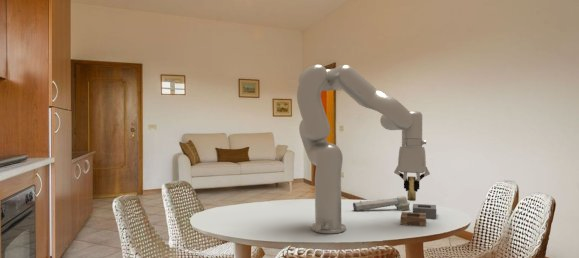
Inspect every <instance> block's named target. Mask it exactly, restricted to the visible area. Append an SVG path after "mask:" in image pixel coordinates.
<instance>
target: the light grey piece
mask: <svg viewBox="0 0 579 258" xmlns="http://www.w3.org/2000/svg"><path fill="white" fill-rule="evenodd" d="M407 199H408V197H406V196H403V195H401V196H397V197H395V198H386V199H385V198H384V199H375V200H365V201H364V200H363V201H362V200H360V201H357V202H353V203H352V206H353V210H354V212H361V211H362V212H364V211H368V210H374V209H379V208H387V207H391V206H392V207H393V206H395V207H396V210H397V211H400V210H401V211H402V212H407V210H410V202H409V201H408V200H407Z"/></svg>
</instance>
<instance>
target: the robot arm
mask: <svg viewBox="0 0 579 258" xmlns="http://www.w3.org/2000/svg"><path fill="white" fill-rule="evenodd" d="M338 90H342V91H343V92H344V93H346V94H347V95H348V96H349V97H350V98H351V99H353V100H354V101H355V102H356V103H357V104H358V105H359V106H361V107H364V108H365V109H369V110H373V111H376V112H378V113H380V114H381V117H380V120H379V121H380V125H381V126H382V127H383V129H385V130H387V131H401V146H399V150H398V158H397V160H398V161H397V166H396V167H395V169H394V171H393V172H394V174H395V175H398V176H399V177H400V178H401V179H402V180H403V189H404V190H405V192H408V173H409V174H411V173H413V174H415V177H416V182H415V191H416V193H417V192H418V190H420V181H421V180H423V178H425V177H427V176H429V175H430V171H429V169H428V167H427V164H426V163H427V162H426V150H425V147H424V146H423V145H427V140H424V139H423V114H422V112H421V111H415V110H413V111H409V110H408V109H407V107H405V106H404V105H403V104H402V103H401V102H400V101H398V100H397V99H396V98H394V97H393V96H391V95H390V94H387V93H386V92H384V91H382V90H380V89H378V88H377V87H375V86H374V85H372V83H371V82H369V81H368V80H367V79H366V78H365V77H364V76H362V75H361V73H360V72H358V71H357V70H356V69H355V68H354V67H352V66H351V65H349V64H342V65H338V66H336V67H334V68H326V66H323V65H321V64H318V63H317V64H312V65H310V66H309V67H307V68H305V70H303V71H302V72H301V73H300V74H299V76H298V86H297V91H296V100H297V105H298V109H299V112H300V115H301V121H300V122H299V125H298V126H299V127H298V131H299V134H300V135H299V136H300V138H301V142H302V145H303V147H304V150H305V153H306V155H307V157H308V160H309V162H310V163H312V165H314V166H315V172H314V173H315V174H314V209H315V211H314V212H315V213H314V215H315V217H314V218H315V221H314V222H315V223H313V224H311V225H310V227H311V228H310V229H311V230H312V231H313V232H316V233H319V234H339V233H343V232H345V231H346V229H347V226H346V224H343V223H342V168H343V151H342V150H341V149H340V148H339V146H338V145H336V144H334V143H332V142H328V139H327V138H328V137H329V135H330V133H331V127H330V126H331V125H330V122H329V120H328V117H327V114H326V112H325V111H326V110H325V109H324V106H323V105H324V104H323V101H322V97H321V96H322V95H321V94H322V92H326V91H327V92H328V91H338Z"/></svg>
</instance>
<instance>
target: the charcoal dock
mask: <svg viewBox="0 0 579 258" xmlns="http://www.w3.org/2000/svg"><path fill="white" fill-rule="evenodd" d="M436 206H437V205H436V204H428V203H427V204H425V203H424V204H422V203H413V204H412V212H413V213H426V220H437V207H436Z"/></svg>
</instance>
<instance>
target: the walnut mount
mask: <svg viewBox="0 0 579 258" xmlns="http://www.w3.org/2000/svg"><path fill="white" fill-rule="evenodd" d="M400 225H402V226H403V225H404V226H412V227H413V226H415V227H427V219H426V213H413V211H411V212H410V211H402V212H401V215H400Z"/></svg>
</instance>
